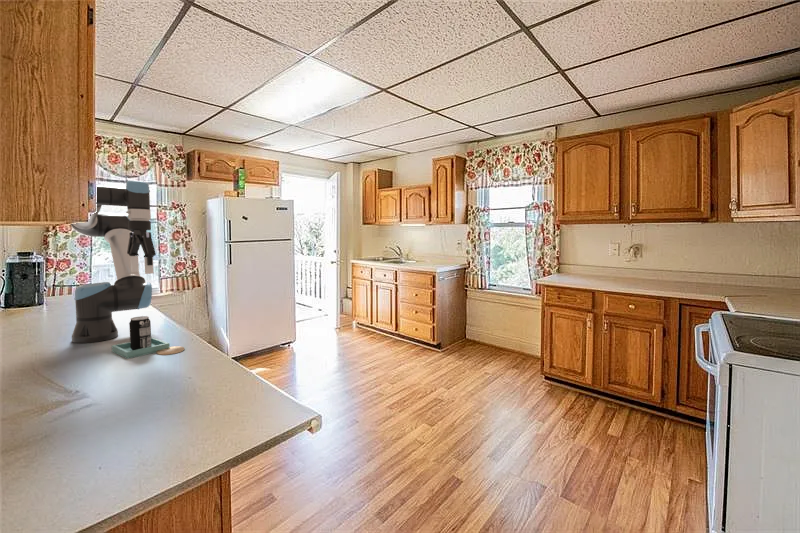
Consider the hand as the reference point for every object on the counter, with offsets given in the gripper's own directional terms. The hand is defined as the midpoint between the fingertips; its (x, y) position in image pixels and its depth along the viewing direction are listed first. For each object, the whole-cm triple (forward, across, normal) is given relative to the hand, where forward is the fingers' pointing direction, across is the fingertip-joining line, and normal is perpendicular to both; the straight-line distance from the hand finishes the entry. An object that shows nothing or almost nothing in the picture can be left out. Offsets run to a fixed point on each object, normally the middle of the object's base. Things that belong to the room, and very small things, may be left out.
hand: (141, 272), depth 150 cm
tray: (+29, +12, -6) cm, 32 cm away
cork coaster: (+29, +22, 0) cm, 36 cm away
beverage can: (+28, +12, -6) cm, 31 cm away
